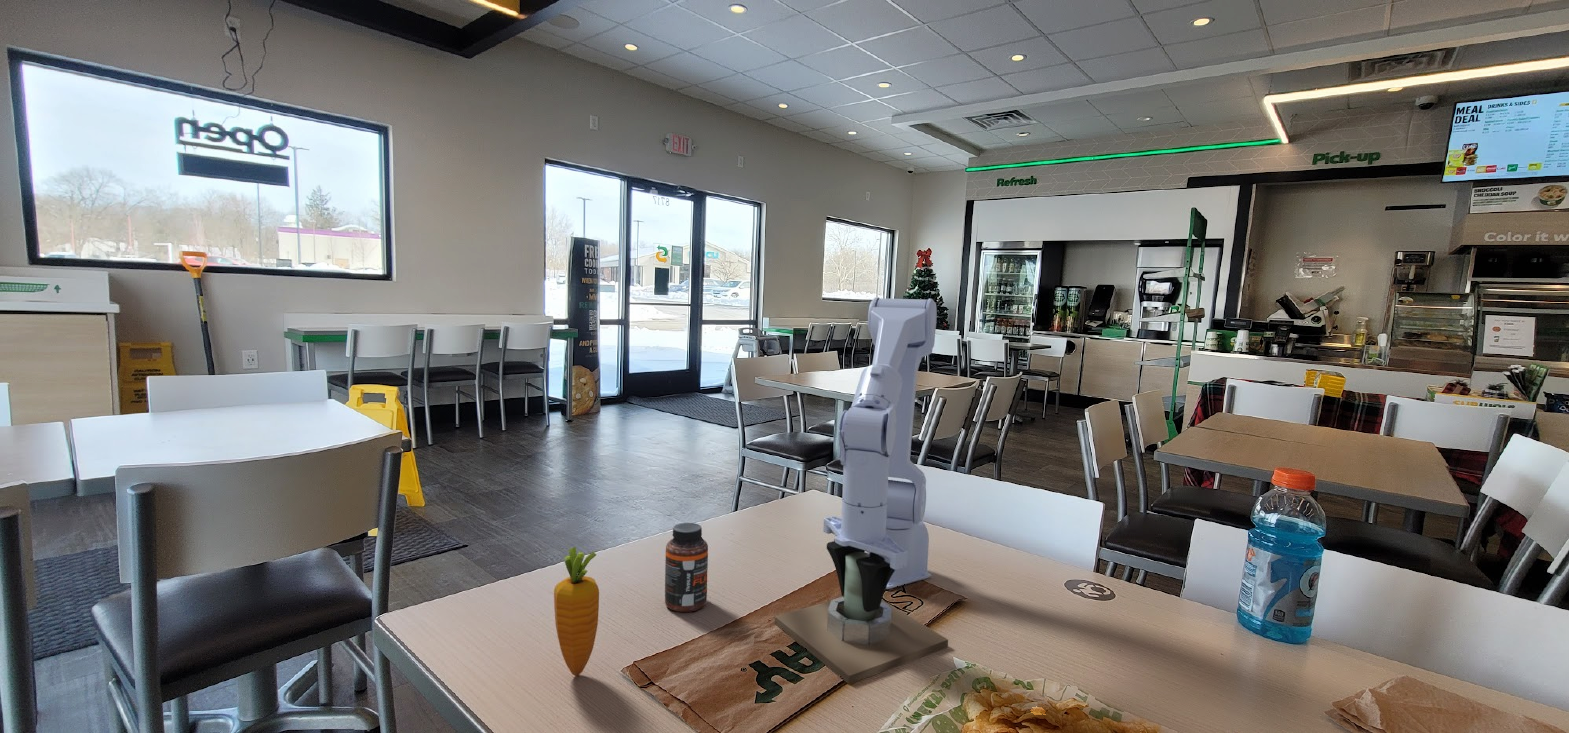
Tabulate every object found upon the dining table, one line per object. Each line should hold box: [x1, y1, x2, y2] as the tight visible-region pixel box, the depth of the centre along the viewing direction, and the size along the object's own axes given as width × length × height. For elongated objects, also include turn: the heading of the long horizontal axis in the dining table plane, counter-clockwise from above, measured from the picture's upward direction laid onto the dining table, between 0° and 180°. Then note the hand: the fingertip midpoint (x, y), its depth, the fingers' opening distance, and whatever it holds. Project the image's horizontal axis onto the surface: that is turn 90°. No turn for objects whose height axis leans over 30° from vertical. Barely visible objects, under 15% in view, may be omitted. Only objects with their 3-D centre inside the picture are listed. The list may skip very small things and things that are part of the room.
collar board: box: [774, 599, 949, 685], centre depth 85 cm, size 16×16×1 cm
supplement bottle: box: [664, 522, 709, 613], centre depth 92 cm, size 6×6×11 cm
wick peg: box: [844, 551, 875, 622], centre depth 85 cm, size 4×4×8 cm
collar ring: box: [827, 596, 891, 645], centre depth 85 cm, size 8×8×2 cm
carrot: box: [553, 546, 600, 677], centre depth 74 cm, size 5×5×15 cm
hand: (860, 602), depth 85 cm, fingers closed on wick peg, 4 cm apart
